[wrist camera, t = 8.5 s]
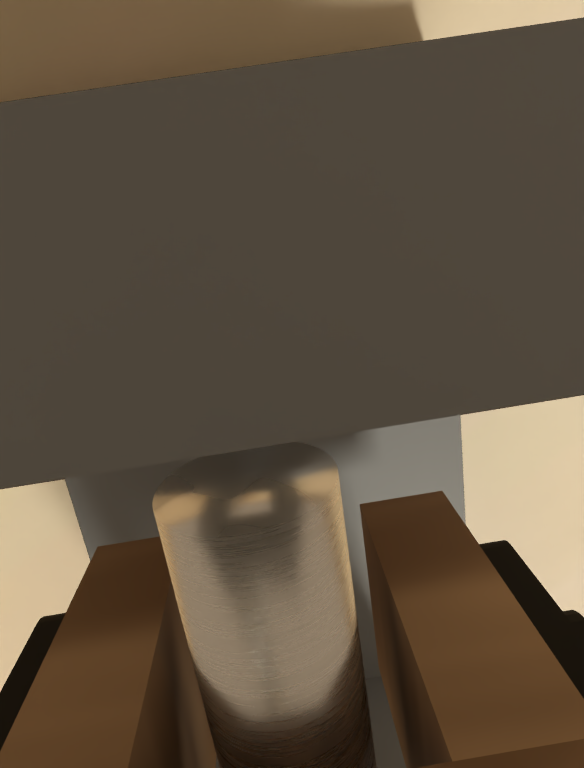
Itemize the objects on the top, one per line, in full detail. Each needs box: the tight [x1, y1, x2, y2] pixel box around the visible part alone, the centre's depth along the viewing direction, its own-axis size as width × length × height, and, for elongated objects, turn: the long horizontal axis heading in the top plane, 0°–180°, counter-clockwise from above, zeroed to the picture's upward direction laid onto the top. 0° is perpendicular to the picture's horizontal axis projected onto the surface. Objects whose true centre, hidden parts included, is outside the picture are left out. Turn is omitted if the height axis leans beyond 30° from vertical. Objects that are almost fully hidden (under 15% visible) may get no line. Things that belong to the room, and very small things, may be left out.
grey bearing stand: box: [0, 18, 584, 768], centre depth 10 cm, size 24×10×11 cm, turn 8°
